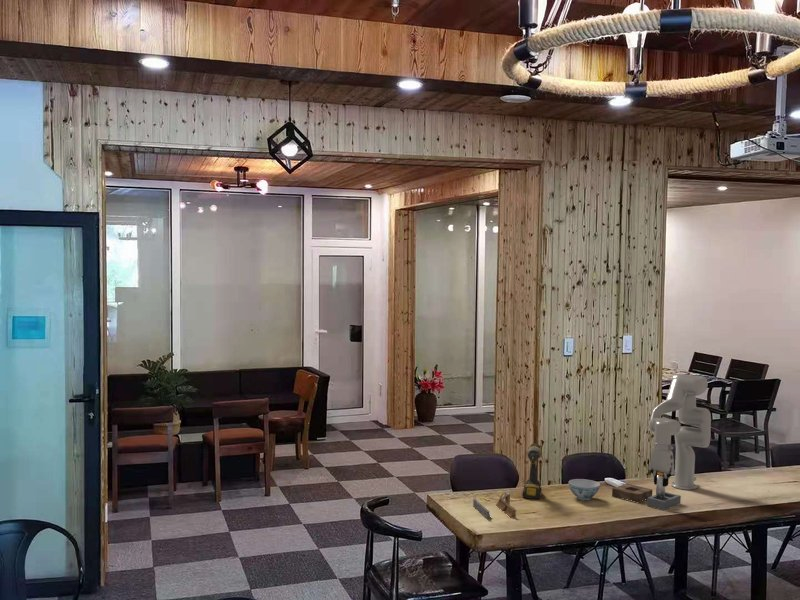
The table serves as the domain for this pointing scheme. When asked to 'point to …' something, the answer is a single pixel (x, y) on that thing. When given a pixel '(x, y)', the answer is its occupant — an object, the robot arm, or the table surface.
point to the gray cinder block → (664, 501)
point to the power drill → (533, 474)
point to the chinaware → (584, 488)
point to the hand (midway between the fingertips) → (660, 484)
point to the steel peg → (660, 485)
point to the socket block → (631, 492)
